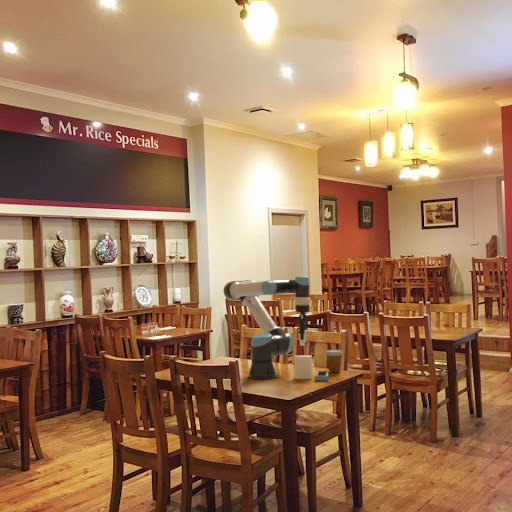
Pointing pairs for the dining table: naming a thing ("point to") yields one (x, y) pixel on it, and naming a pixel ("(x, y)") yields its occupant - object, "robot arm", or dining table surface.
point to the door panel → (303, 367)
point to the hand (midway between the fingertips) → (303, 343)
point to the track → (322, 376)
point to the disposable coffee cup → (334, 360)
